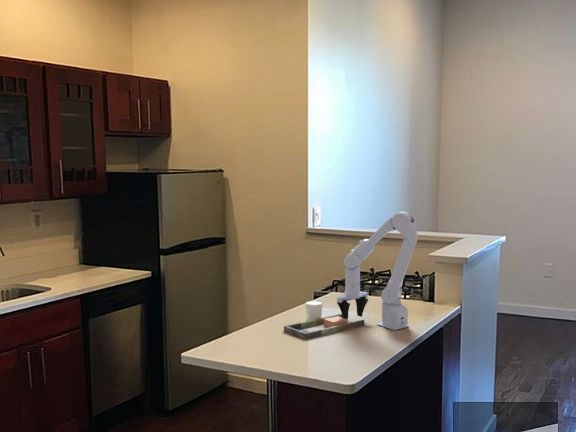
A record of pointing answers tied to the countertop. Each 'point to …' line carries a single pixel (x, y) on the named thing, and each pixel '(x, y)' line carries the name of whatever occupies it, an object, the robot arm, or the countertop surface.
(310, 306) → the shot glass
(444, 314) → the countertop surface
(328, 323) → the brick block
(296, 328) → the channel
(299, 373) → the countertop surface
